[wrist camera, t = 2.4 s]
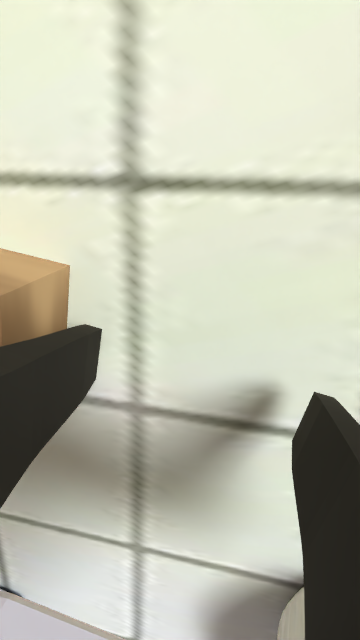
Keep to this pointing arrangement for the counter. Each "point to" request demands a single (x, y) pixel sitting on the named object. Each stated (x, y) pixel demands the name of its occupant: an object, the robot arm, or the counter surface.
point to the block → (31, 297)
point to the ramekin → (293, 619)
